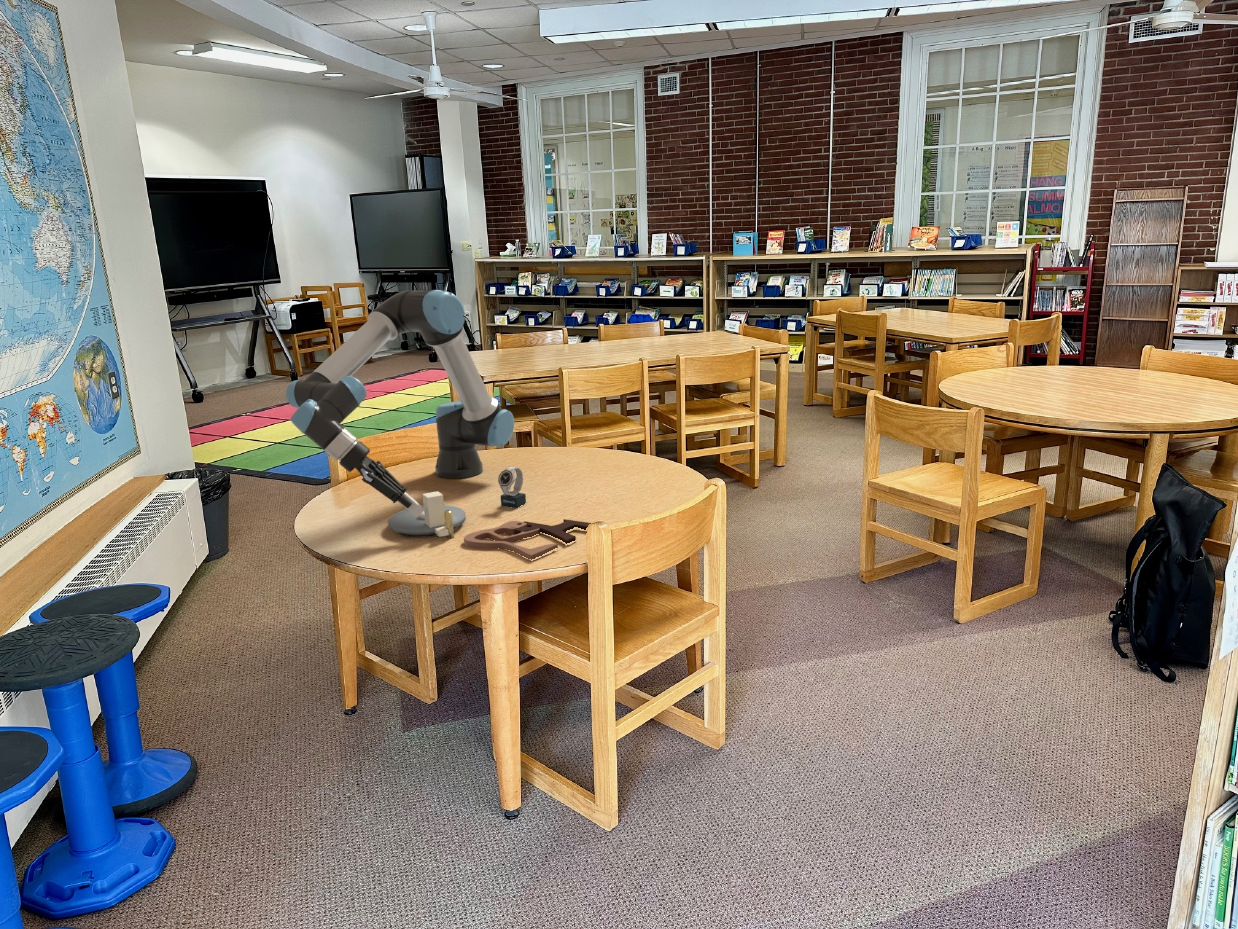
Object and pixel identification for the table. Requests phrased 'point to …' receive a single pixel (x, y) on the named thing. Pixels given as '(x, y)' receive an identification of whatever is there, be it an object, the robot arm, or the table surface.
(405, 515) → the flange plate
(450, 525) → the gold domed cylinder
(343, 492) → the table surface
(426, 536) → the turntable base
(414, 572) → the table surface
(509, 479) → the watch
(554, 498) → the table surface
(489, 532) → the wood carving
